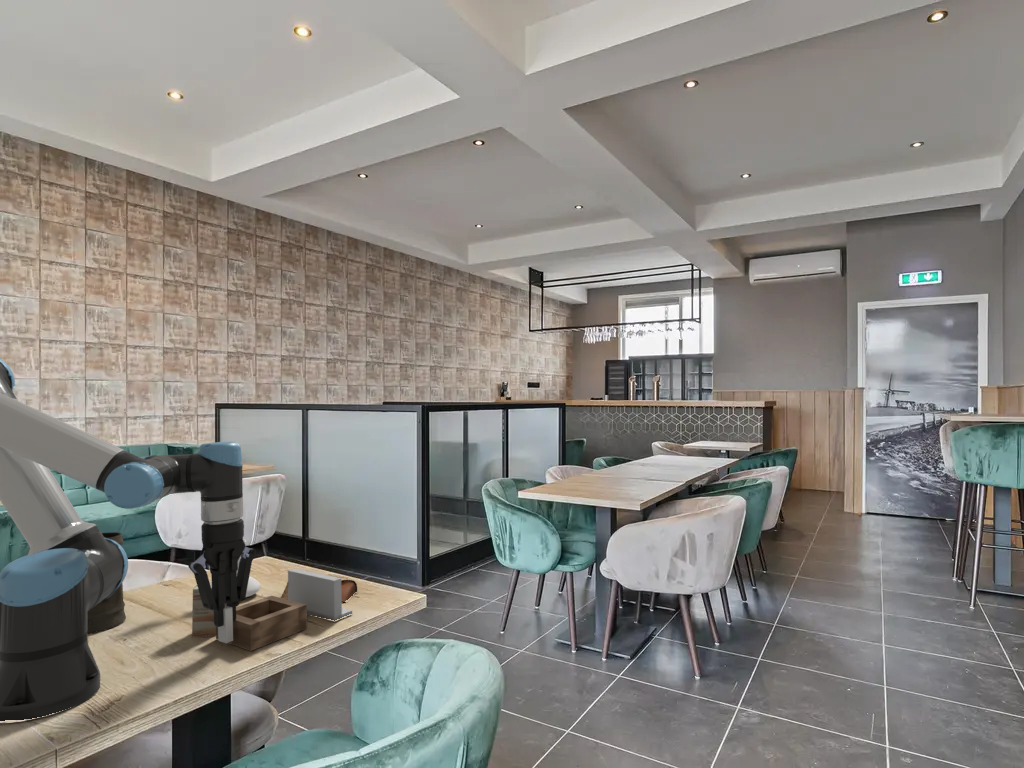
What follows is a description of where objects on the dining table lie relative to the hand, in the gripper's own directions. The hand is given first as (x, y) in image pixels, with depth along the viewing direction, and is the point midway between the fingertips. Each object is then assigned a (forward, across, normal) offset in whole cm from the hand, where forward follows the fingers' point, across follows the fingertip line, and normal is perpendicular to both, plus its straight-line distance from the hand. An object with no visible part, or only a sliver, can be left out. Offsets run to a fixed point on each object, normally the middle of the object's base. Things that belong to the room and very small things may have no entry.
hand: (225, 640), depth 117 cm
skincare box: (+2, +3, +12) cm, 12 cm away
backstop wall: (+2, +23, +1) cm, 23 cm away
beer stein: (+1, -8, +40) cm, 41 cm away
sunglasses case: (+3, +29, +10) cm, 31 cm away
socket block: (+2, +8, 0) cm, 8 cm away
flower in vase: (+2, +19, +29) cm, 34 cm away
